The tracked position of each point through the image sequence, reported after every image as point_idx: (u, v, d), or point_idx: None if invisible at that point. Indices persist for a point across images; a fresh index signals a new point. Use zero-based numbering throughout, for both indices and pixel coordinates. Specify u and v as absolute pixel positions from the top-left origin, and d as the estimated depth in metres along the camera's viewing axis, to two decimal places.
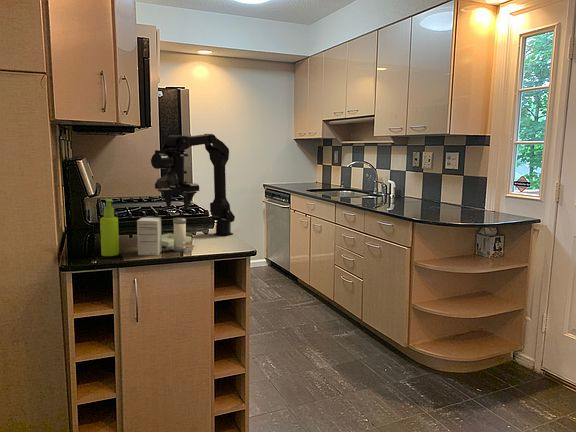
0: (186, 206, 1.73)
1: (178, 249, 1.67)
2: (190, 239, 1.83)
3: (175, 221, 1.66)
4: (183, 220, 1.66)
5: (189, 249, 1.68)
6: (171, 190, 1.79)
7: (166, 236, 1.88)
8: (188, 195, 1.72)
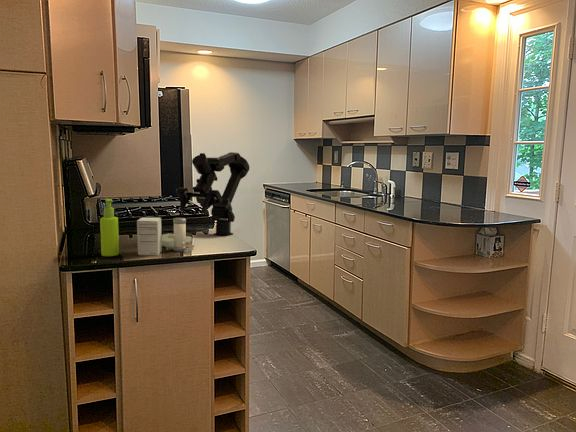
0: None
1: (178, 249, 1.67)
2: (190, 239, 1.83)
3: (175, 221, 1.66)
4: (183, 220, 1.66)
5: (189, 249, 1.68)
6: None
7: (166, 236, 1.88)
8: None
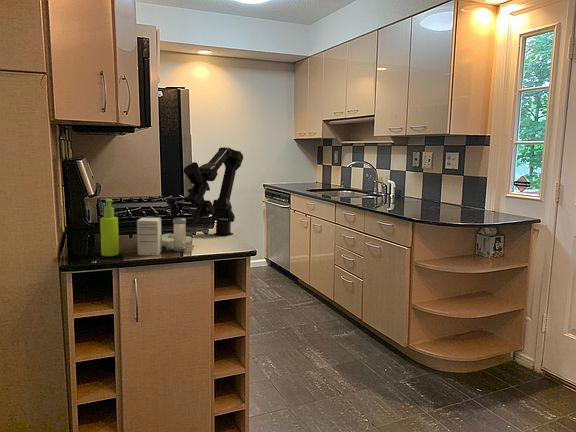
0: None
1: (178, 249, 1.67)
2: (190, 239, 1.83)
3: (175, 221, 1.66)
4: (183, 220, 1.66)
5: (189, 249, 1.68)
6: None
7: (166, 236, 1.88)
8: None
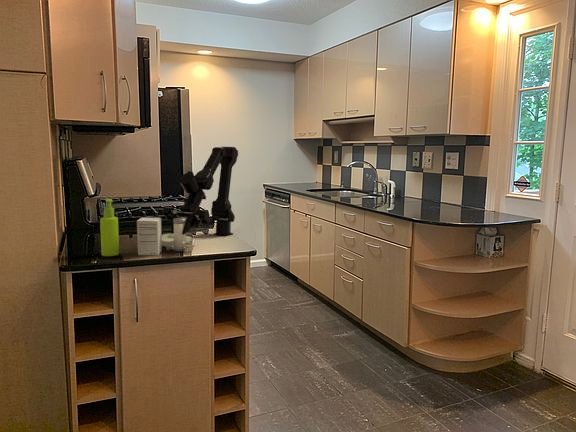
0: None
1: (178, 249, 1.67)
2: (190, 239, 1.83)
3: (175, 221, 1.66)
4: (183, 220, 1.66)
5: (189, 249, 1.68)
6: None
7: (166, 236, 1.88)
8: None
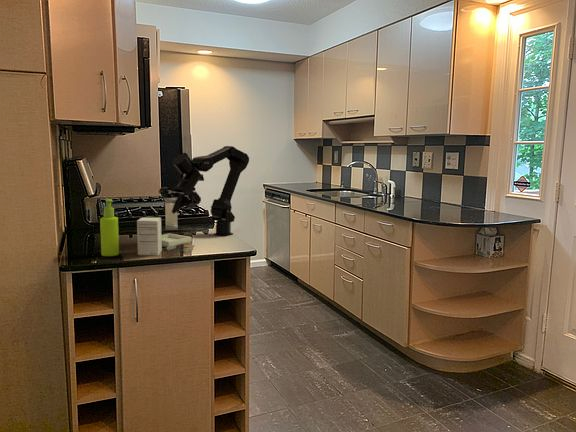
0: None
1: (168, 227, 1.73)
2: (190, 239, 1.83)
3: (165, 200, 1.72)
4: (173, 199, 1.72)
5: (189, 249, 1.68)
6: None
7: (166, 236, 1.88)
8: None
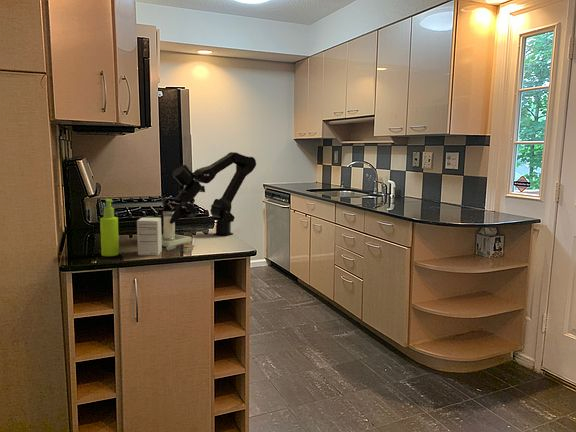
0: None
1: (165, 240, 1.80)
2: (190, 239, 1.83)
3: (163, 213, 1.79)
4: (170, 213, 1.78)
5: (189, 249, 1.68)
6: None
7: None
8: None
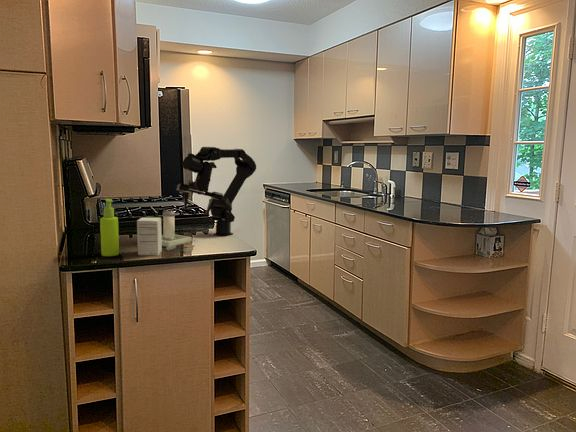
0: (184, 206, 1.85)
1: (165, 240, 1.80)
2: (190, 239, 1.83)
3: (163, 214, 1.79)
4: (170, 213, 1.78)
5: (189, 249, 1.68)
6: (212, 199, 1.88)
7: None
8: None
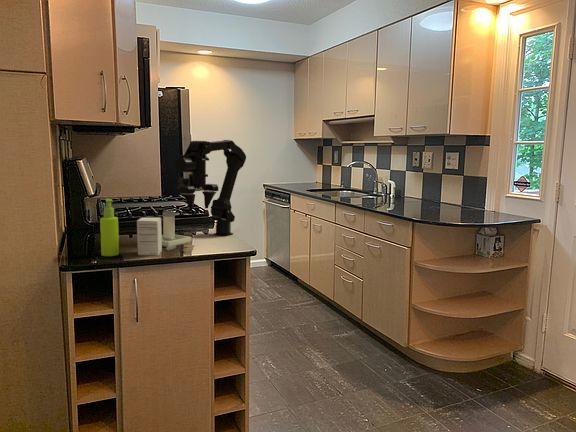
0: (189, 207, 1.82)
1: (165, 240, 1.80)
2: (190, 239, 1.83)
3: (163, 214, 1.79)
4: (170, 213, 1.78)
5: (189, 249, 1.68)
6: (210, 193, 1.89)
7: None
8: (189, 197, 1.80)
